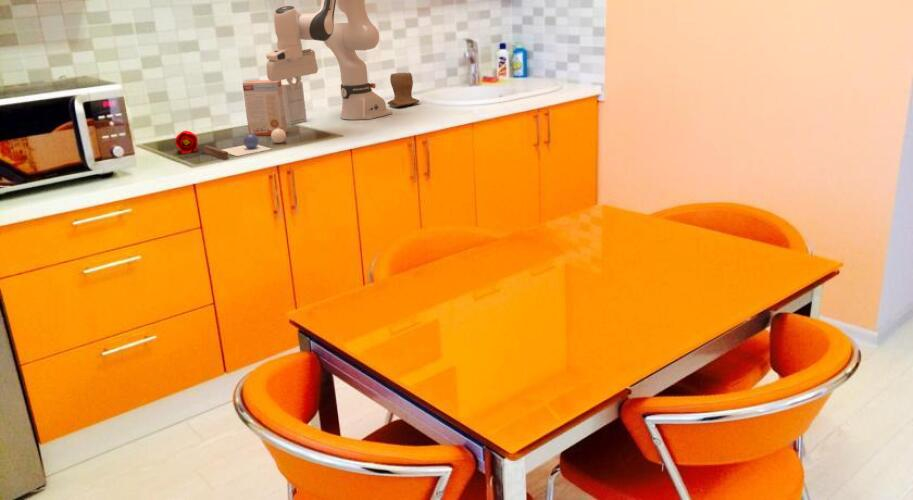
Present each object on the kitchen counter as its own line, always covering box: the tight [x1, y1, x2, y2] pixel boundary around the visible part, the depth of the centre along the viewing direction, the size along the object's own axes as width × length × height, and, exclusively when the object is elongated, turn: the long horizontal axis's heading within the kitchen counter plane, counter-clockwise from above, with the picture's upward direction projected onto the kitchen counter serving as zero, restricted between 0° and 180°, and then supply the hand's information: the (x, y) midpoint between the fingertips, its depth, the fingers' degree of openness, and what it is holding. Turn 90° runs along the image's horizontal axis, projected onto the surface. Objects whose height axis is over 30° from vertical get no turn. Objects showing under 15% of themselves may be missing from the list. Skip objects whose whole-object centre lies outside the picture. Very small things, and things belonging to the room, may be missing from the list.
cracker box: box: [242, 79, 288, 136], centre depth 320 cm, size 14×6×21 cm, turn 84°
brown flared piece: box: [387, 72, 420, 109], centre depth 370 cm, size 15×12×15 cm
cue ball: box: [270, 128, 287, 144], centre depth 306 cm, size 6×6×6 cm
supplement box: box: [281, 79, 307, 126], centre depth 342 cm, size 10×9×17 cm
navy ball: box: [242, 133, 260, 149], centre depth 299 cm, size 6×6×6 cm
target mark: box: [221, 144, 272, 157], centre depth 298 cm, size 14×14×1 cm
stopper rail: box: [203, 145, 230, 161], centre depth 291 cm, size 2×16×2 cm, turn 41°
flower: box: [174, 130, 198, 154], centre depth 299 cm, size 8×8×8 cm
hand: (295, 89), depth 309 cm, fingers closed
